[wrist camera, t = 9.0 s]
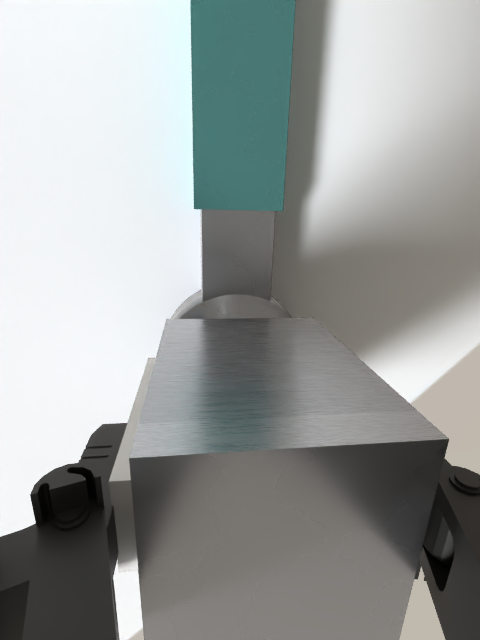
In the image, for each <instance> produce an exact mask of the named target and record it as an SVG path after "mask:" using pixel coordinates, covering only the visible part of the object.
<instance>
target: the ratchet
mask: <svg viewBox="0 0 480 640" xmlns="http://www.w3.org/2000/svg"><path fill="white" fill-rule="evenodd" d="M295 1H296V0H191V54H192V113H193V173H194V209H201V278H202V290H201V291H199V292H197V293H195V294H194V295H192V296H191V297H189V298H188V299H187V300H186V301H184V302H183V303H182V304H181V305H180V306H179V308H178V309H177V310H176V311H175V313H174V314H173V316H172V317H171V319H230V318H292V317H291V316H290V315H289V314H288V312H287V311H286V310H285V309H284V308H283V307H282V306H281V305H280V303H279V302H278V301H276V300H275V299H274V298H273V297H272V296H271V280H272V261H273V243H274V224H275V211H283V201H284V184H285V168H286V151H287V134H288V118H289V101H290V84H291V68H292V51H293V34H294V17H295Z"/></svg>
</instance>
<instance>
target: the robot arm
mask: <svg viewBox="0 0 480 640" xmlns="http://www.w3.org/2000/svg"><path fill="white" fill-rule="evenodd" d="M155 360H156V358H148V361H147V364H146V367H145V371H144V374H143V377H142V380H141V383H140V386H139V389H138V392H137V395H136V398H135V402H134V405H133V408H132V411H131V414H130V417H129V420H128V423H119V424H103V425H102V426H101V427H99V428H98V429H97V430H96V431H95V432H94V433H93V434H92V435H91V437H90V439H89V441H88V443H87V445H86V449H85V450H84V452H83V454H82V456H81V460H79V463H75V464H67V465H65V466H62V467H59V468H56V469H54V470H52V471H51V472H49V473H48V474H46V475H44V476H43V477H42V478H41V479H40V480H39V481H38V482H37V483H36V484H35V485H34V488H33V490H32V492H31V494H30V496H31V501H32V506H33V511H34V516H35V521H36V524H34V525H32V526H30V527H28V528H25V529H23V530H20V531H17V532H14V533H11V534H8V535H5V536H2V537H0V640H119V632H118V622H117V612H116V601H115V591H114V582H113V575H114V571H115V566H116V562H117V560H118V569H119V572H126V571H136V570H138V560H137V548H136V536H135V524H134V512H133V500H132V489H131V477H130V465H129V456H130V452H131V449H132V445H133V441H134V438H135V434H136V430H137V427H138V423H139V419H140V415H141V412H142V408H143V404H144V401H145V397H146V393H147V390H148V386H149V382H150V379H151V375H152V371H153V367H154V364H155ZM421 566H422V569H423V572H424V575H425V577H424V581H427V584H428V587H429V590H430V593H431V597H432V600H433V603H434V605H435V609H436V612H437V615H438V618H439V621H440V624H441V627H442V630H443V633H444V636H445V639H446V640H480V475H479V474H477V473H475V472H473V471H470V470H468V469H466V468H461V467H458V466H451V464H450V463H449V462H447V460H446V459H445V458H444V461H443V465H442V470H441V474H440V478H439V482H438V486H437V490H436V494H435V498H434V502H433V506H432V510H431V514H430V518H429V522H428V526H427V530H426V534H425V538H424V542H423V546H422V550H421V554H420V558H419V562H418V566H417V570H416V574H415V578H414V579H418V576H419V572H420V568H421Z"/></svg>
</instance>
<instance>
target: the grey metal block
mask: <svg viewBox="0 0 480 640" xmlns="http://www.w3.org/2000/svg"><path fill="white" fill-rule="evenodd" d="M448 441H449V438H448V437H446V436H445V435H444V434H443V433H442V432H441V431H440V430H439V429H438V428H436V427H435V426H434V425H433V424H432V423H431V422H430V421H428V420H427V419H426V418H425V417H424V416H423V415H422V414H421V413H420V412H418V411H417V410H416V409H415V408H414V407H413V406H412V405H411V404H410V403H408V402H407V401H406V400H405V399H404V398H403V397H402V396H401V395H399V394H398V393H397V392H396V391H395V390H394V389H393V388H392V387H391V386H389V385H388V384H387V383H386V382H385V381H384V380H383V379H382V378H380V377H379V376H378V375H377V374H376V373H375V372H374V371H373V370H371V369H370V368H369V367H368V366H367V365H366V364H365V363H364V362H363V361H361V360H360V359H359V358H358V357H357V356H356V355H355V354H354V353H352V352H351V351H350V350H349V349H348V348H347V347H346V346H345V345H343V344H342V343H341V342H340V341H339V340H338V339H337V338H336V337H335V336H333V335H332V334H331V333H330V332H329V331H328V330H327V329H326V328H324V327H323V326H322V325H321V324H320V323H319V322H318V321H317V320H315V319H314V318H230V319H166V323H165V327H164V330H163V334H162V338H161V342H160V345H159V349H158V353H157V356H156V360H155V364H154V367H153V371H152V375H151V379H150V382H149V386H148V390H147V393H146V397H145V401H144V404H143V408H142V412H141V415H140V419H139V423H138V427H137V430H136V434H135V438H134V441H133V445H132V449H131V452H130V456H129V465H130V477H131V489H132V500H133V512H134V524H135V536H136V548H137V560H138V572H139V584H140V596H141V608H142V619H143V631H144V640H399V638H400V634H401V629H402V626H403V622H404V618H405V614H406V609H407V605H408V602H409V597H410V594H411V590H412V586H413V581H414V578H415V574H416V570H417V566H418V562H419V558H420V554H421V550H422V546H423V542H424V538H425V534H426V530H427V526H428V522H429V518H430V514H431V510H432V506H433V502H434V498H435V494H436V490H437V486H438V482H439V478H440V474H441V470H442V465H443V461H444V457H445V453H446V449H447V445H448Z"/></svg>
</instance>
